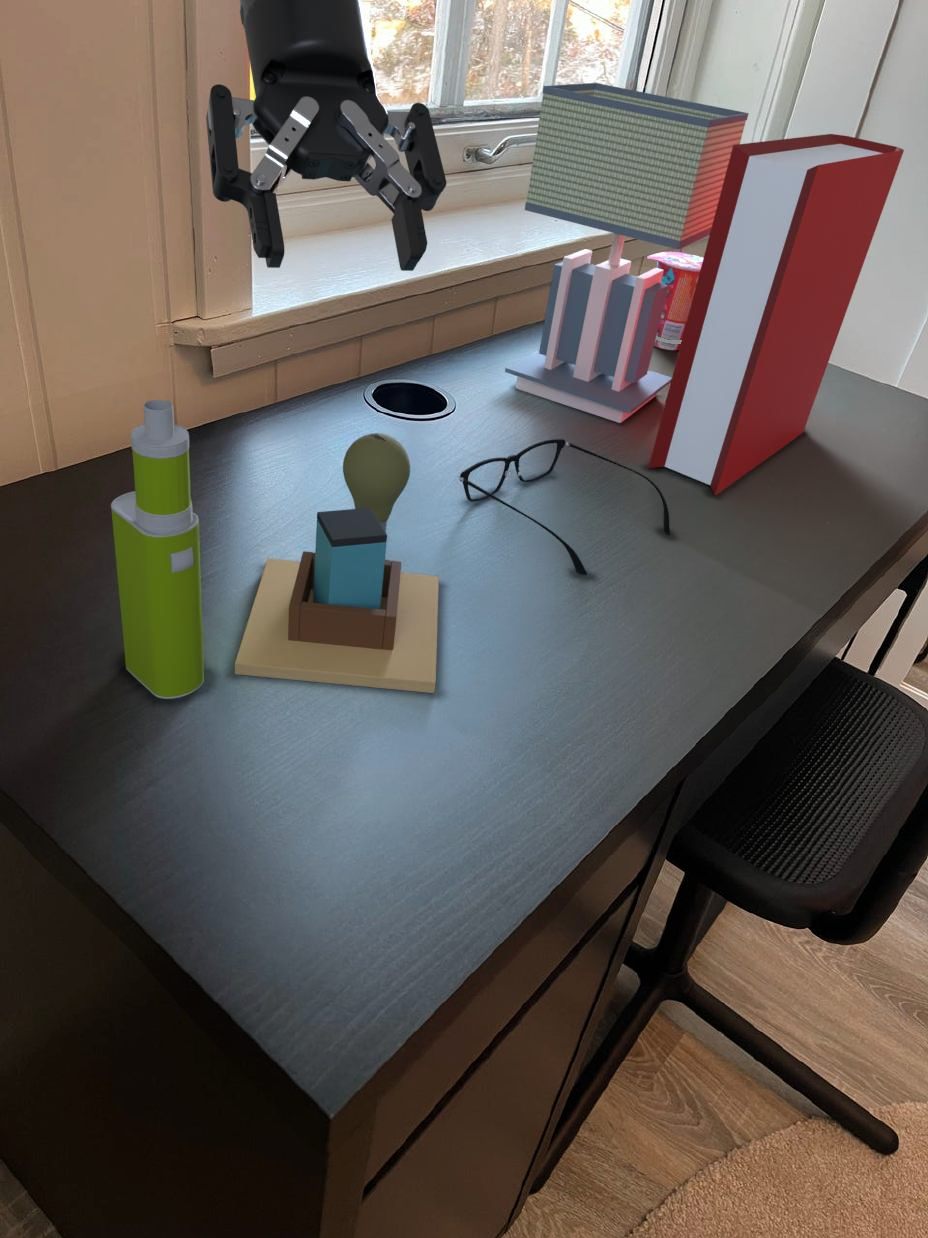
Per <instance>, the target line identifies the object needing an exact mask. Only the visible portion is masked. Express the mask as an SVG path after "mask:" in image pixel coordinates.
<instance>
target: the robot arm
mask: <svg viewBox="0 0 928 1238" xmlns="http://www.w3.org/2000/svg"><path fill="white" fill-rule="evenodd" d="M239 5H240V9H239V15H240V22H241V25H242V28H243V29H244V33H245V40H246V47H247V53H248V60H249V65H250V71H251V77H252V84H253V89H254V95H255V98H254V99H247V98H242V97H241V98H239V97H233V96H232V92H231V90H230V89H229V88H228V87H227V86H226V85H223V84H219V83H218V84H214V85H213V86H212V87H211V88H210V93H209V97H208V104H207V110H206V115H205V116H206V117H205V122H206V132H207V134H206V135H207V141H208V142H207V143H208V155H209V163H210V164H209V165H210V175H211V176H210V177H211V187H212V194H213V196H214V198H216V199H217V200H218V201H220V202H223V203H227V202H230V201H233V202H237V203H239V204H241V205H242V206H243V207H244V208H245V210H246V211H247V213H248V214H247V216H248V221H249V222H248V223H249V227H250V233H251V240H252V245H253V251H254V253H255V254H256V256H257V258H258V259H264V260H265V264H266V267H267V268H268V269H281V266H282V263H283V260H284V257H285V242H284V235H283V230H282V224H281V217H280V211H279V206H278V199H277V193H276V192H278V191H279V190H280V188H281V187H282V185H283V184H284V182H285V181H286V179H287V178H288V177H289V175H290V173H291V172H292V171H293V172H294V173H296V174H298V175H300V176H301V179H302V180H311V181H312V180H314V181H315V180H319V179H324V178H328V179H330V180H333V181H337V182H351V180H352V178H354V179H355V180H356V182H357V183H358V184H359V185H360V186H361V187H362V188H363V189H364V190H365V191H366V193H367V194H368V195H369V196H372V197H378V198H379V200H380V201H381V202H382V203H383V204H384V205H385V206H386V207H387V208H388V209H389V210H390V211H391V213H392V214H393V216H392V217H391V220H390V221H391V225H392V231H393V235H394V242H395V248H396V252H397V259H398V263H399V270H400V271H402V272H405V271H406V272H413V271H414V270H415V268H416V267H417V265H418V264H419V262H420V261H421V259H422V258H423V256H424V255H425V253H426V251H427V248H428V239H427V233H426V228H425V222H424V217H423V211H425V212H431V211H432V210H433V209H434V208H435V206H436V203H437V201H438V199H439V197H440V196H441V194H442V193H443V192H444V191H445V188H446V187H447V184H448V183H447V178H446V175H445V174H446V173H445V170H444V167H443V162H442V158H441V154H440V150H439V146H438V142H437V138H436V134H435V130H434V125H433V121H432V117H431V114H430V110H429V108H428V106H426V105H425V103H421V102H414V103H412V106H411V107H410V110H409V111H387V109H386V107H385V106H384V105H383V104H382V102H381V101H380V99H379V97H378V93H377V86H376V76H375V69H374V66H373V65H374V64H373V60H372V53H371V49H370V43H369V38H368V33H367V27H366V21H365V16H364V11H363V6H362V0H239ZM247 125H252V126H253V129H254V130H255V132H256V133H257V134H258V135H259V136H260V137H261V138H262V139H263V141H264V142H265V143H266V144H267V145H268V147H267V150H266V152H265V154H264V156H263V157H262V158H261V160H260V161H259V163H258V165H257V166H256V167H255V168H254V170H253V172H250V171H248V170H245V169H242V168H239V158H238V157H239V156H238V148H237V147H238V145H237V139H239V138H241V137H242V136H243V133H244V129H245V126H247ZM384 135H389V136H390V137H391V138H393V139H394V141H395V144H396V145H397V146H396V147H397V150H398V151H399V152H400V153H404V155H405V160H406V164H407V168H408V170H407V168H405V167H404V166H403V164H402V163H401V161H400V155H399V153H398V152H397V150H396V149H395V148H394V147H393V146H392V145H391V144H390V143H389V142H388V140H387V139H386V138H385V137H384ZM371 158H373V161H374V162H375V167H374V168H373V166H372V165H371V164H370V163H369V161H370V160H371Z"/></svg>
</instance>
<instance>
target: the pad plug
mask: <svg viewBox="0 0 928 1238" xmlns="http://www.w3.org/2000/svg"><path fill="white" fill-rule="evenodd" d="M315 531H316V532H315V551H314V553H315V572H314V594H313V603H321V604H331V605H340V606H350V607H360V608H370V609H380V606H381V595H382V585H383V574H384V564H385V560H386V551H387V542H388V534H387V531H386V532H385V531H384V529H383V528H382V526H381V525H380V523H379V521H378V520H377V518H376V517H375V515H374V513H373V512H372V510H371V509H370V508H362V509H355V508H351V509H340V510H339V509H337V510H326V511H317V513H316V529H315Z"/></svg>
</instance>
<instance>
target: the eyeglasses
mask: <svg viewBox="0 0 928 1238" xmlns="http://www.w3.org/2000/svg"><path fill="white" fill-rule="evenodd" d="M552 444H553V445H554V444H556V449H555V455H554V458H553V461H552V463H551V466H550V467H549V469H548V470H547V471H546V472H544V473H542V474H540V475H538V476H535V477H533V478H528V479H524V478H523V476H522V473H521V467H520V460H521V458H522V457H523V456H524V455H525V454H527V453H529V452H530V451H532V450H534V449H537V448H539V447H542V446H545V445H552ZM565 446H567V447H569V448H571V449H575V450H577V451H580V452H582V453H585V454H587V455H589V456H593V457H596V458H597V459H600V460H602V461H605V462H607V463H610V464H613V465H615V466H618V467H620V468H623V469H625V470H628V471H630V472H632V473H634V474H636V475H637V476H640V477H641V478H643V479H644V480H646V481H647V482H648V483H650V484H651V486H653V487H654V489H655V490H656V492H657V493H658V495H659V498H660V500H661V504H662V509H663V532H664V534H666V535H667V536H670V535H671V525H670V523H671V522H670V512H669V508H668V505H667V504H668V503H667V502H666V499H665V497H664V495H663V493H662V491H661V489H660V488H659V487H658V485H657V484H655V482H654V481H652V480H651V478H649V477H647V476H645V475H644V474H643V473H641V472H639V471H636V470H634V469H633V468H630V467H627V466H626V465H623V464H621V463H619V462H617V461H614V460H611V459H609V458H607V457H605V456H603V455H600V454H598V453H595V452H593V451H590V450H588V449H585V448H583V447H580V446H578V445H575V444H574V443H570V441H569V442H568V441H567V442H566V440H565V439H564V438H554V439H553V438H551V439H545V440H543V441H540V442H539V441H538V442H537V443H534V444H531V445H530V446H528V447H526V448H524V449H522V450H521V451H520V452H518V453H517V454H512V455H508V456H507V457H503V456H502V457H492V458H488V459H484V460H481V461H478V462H476V463H475V464H473V465H471V466H469V467H467V468H466V469H464V470H463V471H462V472H461V473H460V474H459V476H458V479H459V481H460V482H461V483H462V485H463V490H464V493H465V497H466V499H467V501H468V502H471V503H473V502H479V501H482V500H485V499H488V498H491V499H493V500H494V501H496V502H498V503H500V504H502V505H504V506H505V507H508V508H509V509H511V510H513V511H514V512H517V513H518V514H520V515H522V516H524V518H527V519H529V520H530V521H532V522H533V523H534V524H537V525H538V526H539V527H541V528H542V529H543V530H544V531H546V532H547V533H548V534H550V535H552V536H553V537H554V538H555V539H556V540H557V541H558V542H560V543H561V545H563V547H564V548H565V550H566V551H567V554H568V555H569V557H570V559H571V561H572V564H573V567H574V569H575V572H576V573H577V574H579V575H582V576H588V572H587V570H586V569H585V566H584V565H583V562H582V560H581V559H580V557H579V556H578V554H577V552H576V551H575V550H574V549H573V548H572V547H571V546H570V544H568V543H567V542H566V541H565V540H564V539H562V538H561V537H560V536H559V535H557V534H556V533H555V532H554V531H552V529H550V528H548V527H547V526H545V525H544V524H543V523H540V522H539V521H538V520H536V519H534V518H533V517H531V516H529V515H527V514H526V513H524V512H523V511H521V510H519V509H517V508H516V507H514V506H512V505H510V504H509V503H507V502H506V501H504V500H502V499H501V498H499V497H497V496H496V495H495V494H497V493H498V492H499V491H500V490H501V488H502V486H503V484H504V483H505V480H506V481H508V480H509V479H510V475H511V471H509V469H510V465H511V463H513V462H514V463H513V464H514V469H515V472H516V475H517V478H518V479H519V481H520V482H522V483H530V482H534V481H537V480H540V479H542V478H544V477H546V476H548V475H550V474H551V473H552V472H553V471H554V469H555V467H556V465H557V462H558V459H559V457H560V455H561V452H562V450H563V449H564V448H565ZM495 462H503V463H504V467H503V472H502V475H501V477H500V479H499V482H498V485H496V488H495V489H494V490H492V491H491V492H489V491H487V490H485V489H484V488H482V487H480V486H478V485H477V484H475V483H473V482H471V481H470V480H469V476H470V475H471V473H472V472H474V471H475V470H477V469H478V468H481V467H483V466H485V465H488V464H491V463H495ZM508 473H509V474H508ZM469 487H471V488H473V489H474V490H477V491H478V492H480V493H482V494H484V495H483V496H480V497H475V498H472V497H471V493H470V490H469Z"/></svg>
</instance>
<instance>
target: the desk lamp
mask: <svg viewBox="0 0 928 1238" xmlns="http://www.w3.org/2000/svg"><path fill="white" fill-rule="evenodd" d="M749 115H750V113H749V112H745V111H739V110H735V109H730V108H729V109H728V108H725V107H719V106H714V105H709V104H704V103H699V102H694V101H689V100H684V99H679V98H673V97H669V96H663V95H659V94H654V93H650V92H645V91H638V90H635V89H629V88H624V87H618V86H613V85H609V84H603V83H598V82H585V83H583V82H582V83H570V84H569V83H568V84H566V83H565V84H552V85H543V87H542V99H541V105H540V112H539V117H538V118H539V119H538V125H537V131H536V136H535V137H536V138H535V145H534V150H533V157H532V165H531V170H530V171H531V172H530V177H529V184H528V191H527V196H526V201H525V205H524V211H526V212H531V213H534V214H537V215H543V216H545V217H546V216H547V217H550V218H553V219H557V220H561V221H566V222H569V223H574V224H577V225H581V226H585V227H589V228H593V229H595V230H596V229H597V230H599V231H605V232H607V233H613V236H612V242H611V246H610V250H609V255H608V259H607V260H605V261H603V262H600V263H598V264H596V265H595V264H591V261H592V256H593V250H591V249H587V248H584V249H582V250H579V251H577V252H574V253H571V254H569V255H566V256H563V260H562V261H560V262H557V263H555V264H554V265H553V271H552V277H551V282H550V288H549V294H548V299H547V305H546V311H545V318H544V321H543V328H542V333H541V339H540V345H539V349H538V350H536V351H535V352H533V353H531V354H529V355H527V356H525V357H523V358H521V359H519V360H518V361H516V362H513V363H512V364H510V365H508V366H506V367H505V368H504V373H507V374H510V375H513V376H516V384H515V389H517V390H519V391H522V392H525V393H528V394H532V395H534V396H536V397H537V396H538V397H541V398H543V399H547V400H549V401H552V402H554V403H555V402H556V403H558V404H562V405H564V406H568V407H569V408H574V409H576V410H578V411H579V410H580V411H583V412H586V413H589V414H591V415H595V416H598V417H601V418H604V419H607V420H609V421H613V422H616V423H618V424H621V423H623V422H624V421H626V419H628V418H629V417H631V416H632V415H633V414H634V413H636V412H637V411H638V410H640V409H641V408H642V407H643V406H644V405H646V404H648V403H649V402H650V401H651V400H652V399H654V398H655V397H656V396H657V394H658V393H659V392H661V391H662V390H663V389H664V388H666V387H667V386H668V385H670V383H671V380H672V376H668V375H665V374H661V373H658V372H655V371H652V370H649V368H650V363H651V359H652V355H653V352H654V347H655V346H654V344H655V339H656V335H657V331H658V327H659V323H660V319H661V315H662V311H663V307H664V303H665V298H666V294H667V290H668V286H669V285H666V284H662V283H661V279H662V275H663V271H664V270H662V269H659V268H657V267H654V268H652V269H650V270H648V271H645V272H644V273H642V274H640V275H637V276H635V275H632V274H630V271H631V265H632V260H628V259H624V258H622V254H623V250H624V245H625V240H626V237H628V238H632V239H636V240H639V241H643V242H647V243H652V244H655V245H658V246H662V247H667V248H670V249H674V250H678V251H679V250H682V249H683V248H685V247H687V246H689V245H692V244H695V243H696V242H698V241H700V240H702V239H704V238H707V237H709V235H710V232H711V228H712V224H713V220H714V217H715V213H716V209H717V205H718V201H719V198H720V194H721V190H722V186H723V182H724V179H725V175H726V171H727V167H728V163H729V160H730V156H731V152H732V148H733V145H737V144H741V142H742V137H743V133H744V130H745V126H746V123H747V120H748V117H749Z"/></svg>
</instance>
